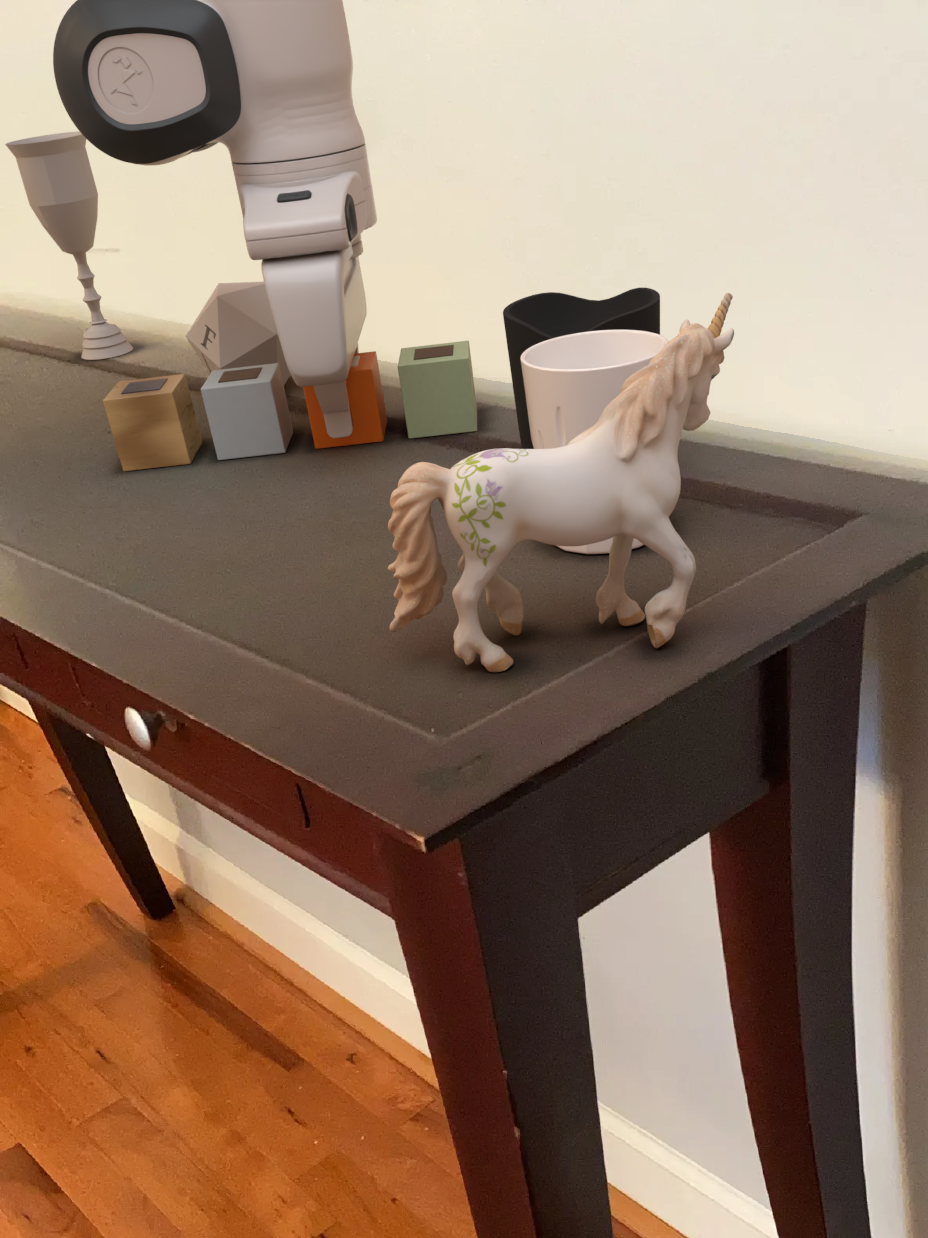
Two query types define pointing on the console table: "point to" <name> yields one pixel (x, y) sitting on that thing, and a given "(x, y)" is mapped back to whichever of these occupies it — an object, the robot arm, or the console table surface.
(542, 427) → the white cup
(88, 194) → the chalice
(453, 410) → the line block
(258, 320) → the die
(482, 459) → the unicorn figurine
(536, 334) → the pen holder
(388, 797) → the console table surface
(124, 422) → the line block
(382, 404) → the orange block
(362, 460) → the console table surface
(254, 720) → the console table surface
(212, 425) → the line block
